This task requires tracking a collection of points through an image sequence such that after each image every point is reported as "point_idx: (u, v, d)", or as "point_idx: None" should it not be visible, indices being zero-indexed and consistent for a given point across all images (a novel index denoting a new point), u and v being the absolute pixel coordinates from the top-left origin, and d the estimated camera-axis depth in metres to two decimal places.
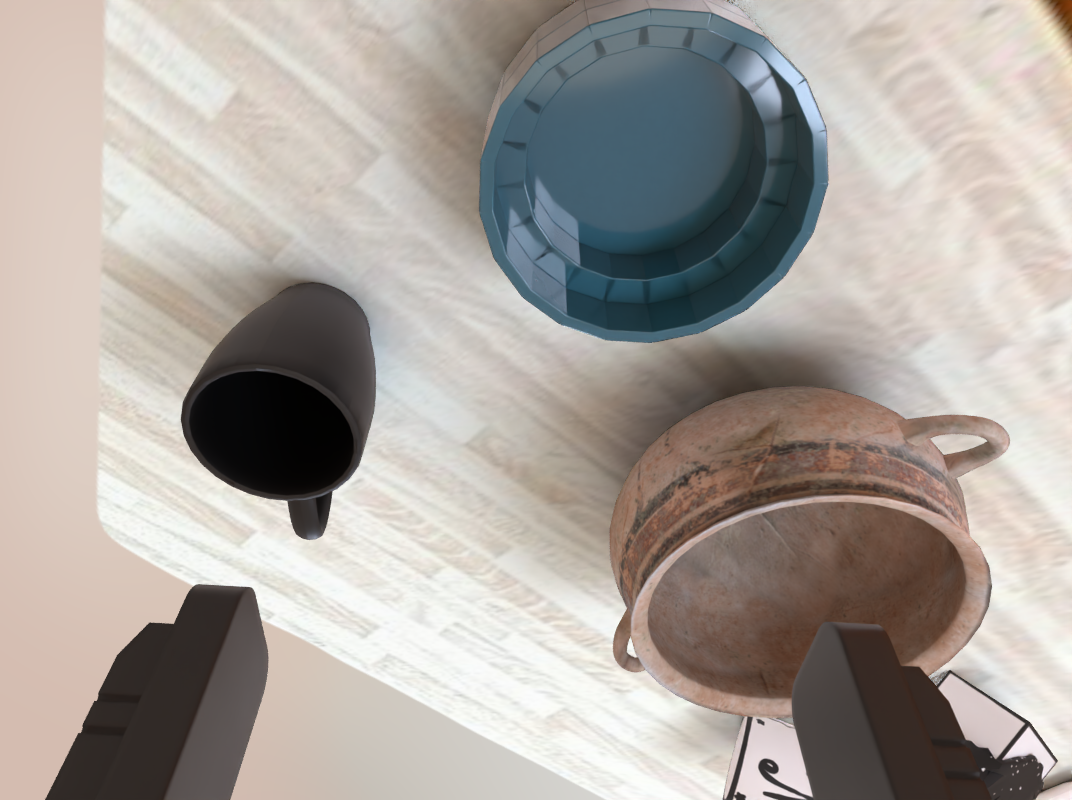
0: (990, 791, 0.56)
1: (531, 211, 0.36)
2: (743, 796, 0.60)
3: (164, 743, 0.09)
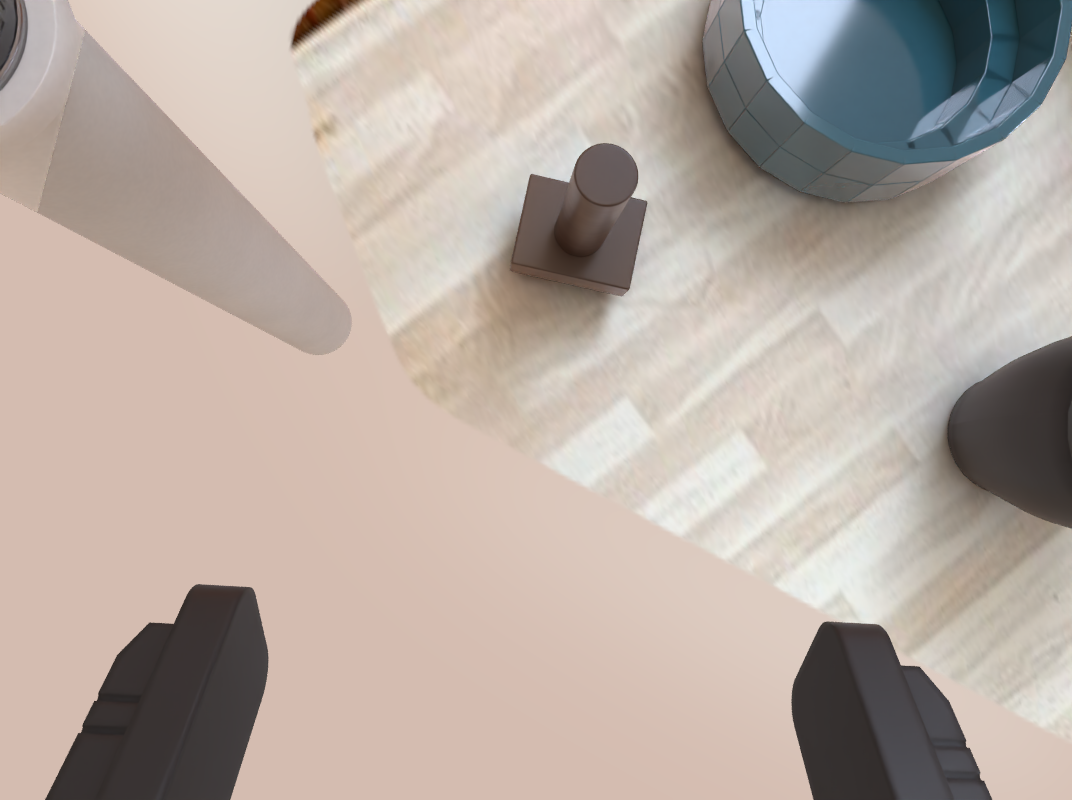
0: None
1: (902, 141, 0.35)
2: None
3: (164, 743, 0.09)
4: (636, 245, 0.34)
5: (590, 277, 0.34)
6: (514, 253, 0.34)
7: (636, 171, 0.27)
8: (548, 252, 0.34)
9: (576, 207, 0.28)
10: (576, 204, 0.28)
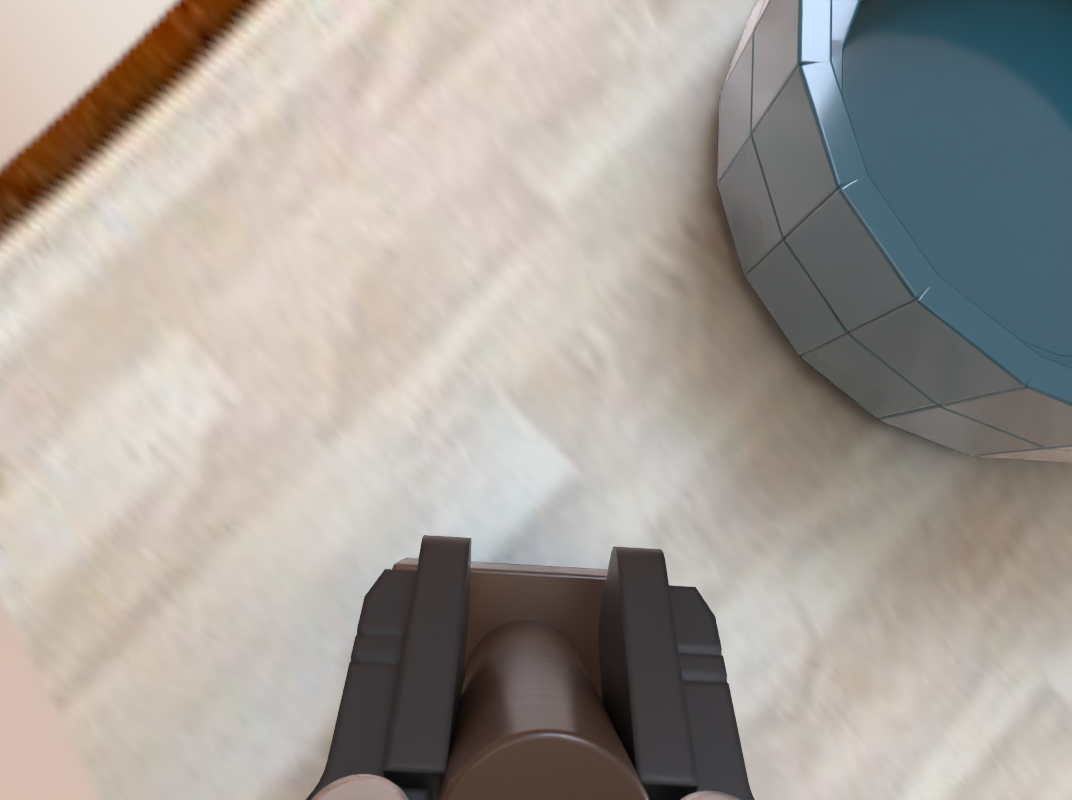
0: None
1: None
2: None
3: (439, 668, 0.10)
4: None
5: None
6: None
7: None
8: None
9: None
10: None
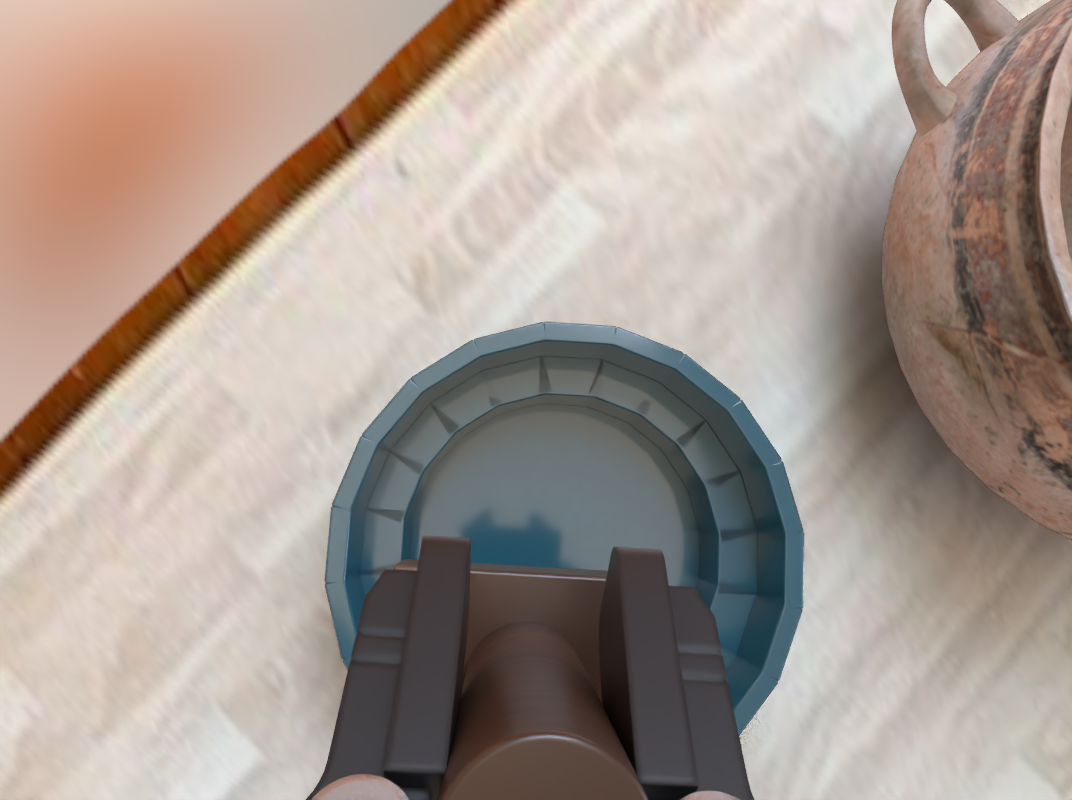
0: None
1: None
2: None
3: (439, 668, 0.10)
4: None
5: None
6: None
7: None
8: None
9: None
10: None
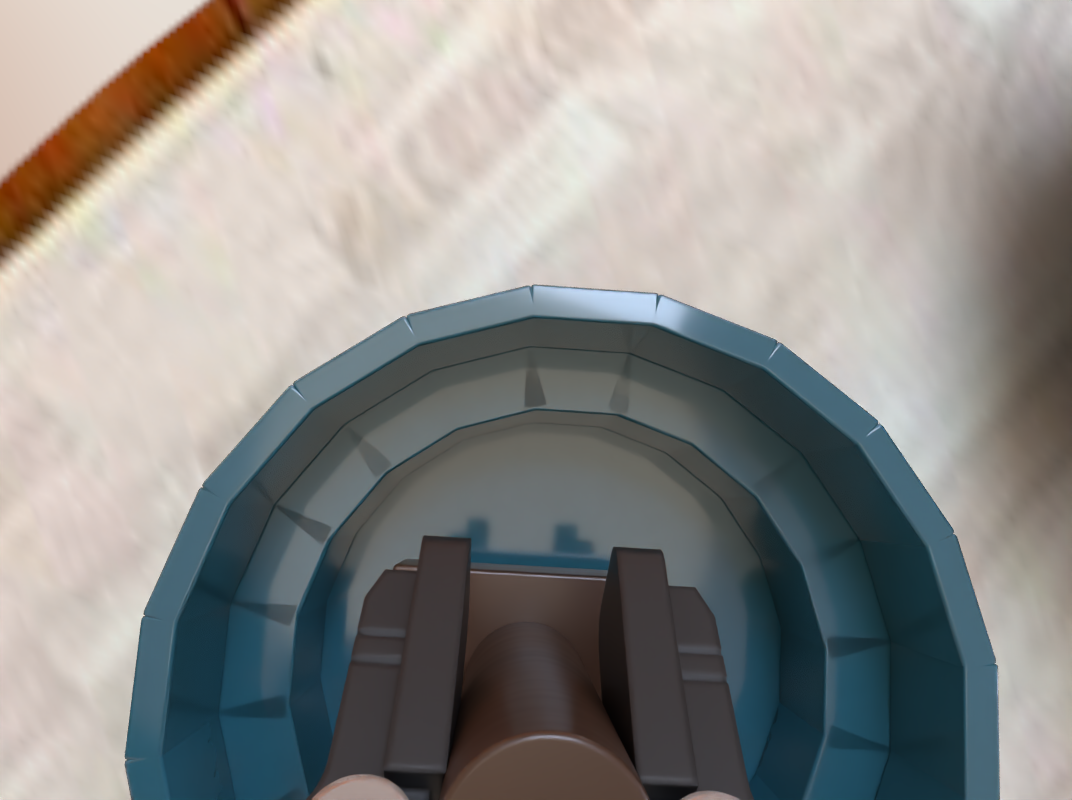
0: None
1: None
2: None
3: (439, 668, 0.10)
4: None
5: None
6: None
7: None
8: None
9: None
10: None
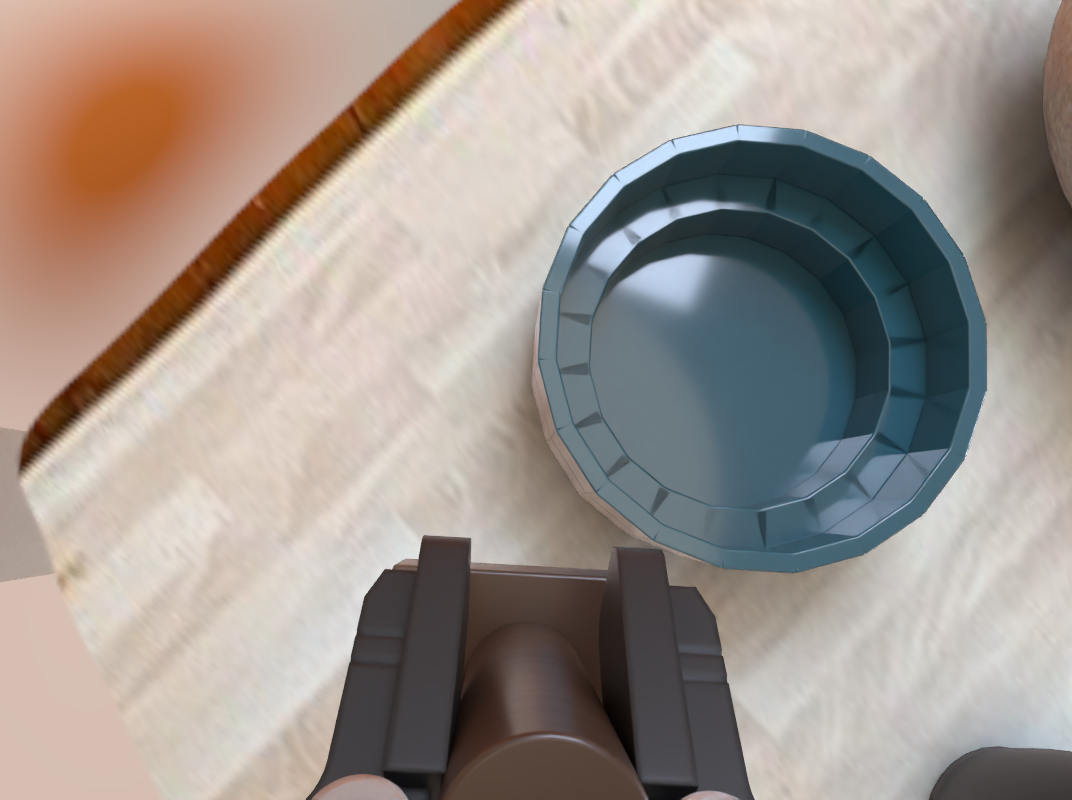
0: None
1: (797, 501, 0.27)
2: None
3: (439, 668, 0.10)
4: None
5: None
6: None
7: None
8: None
9: None
10: None
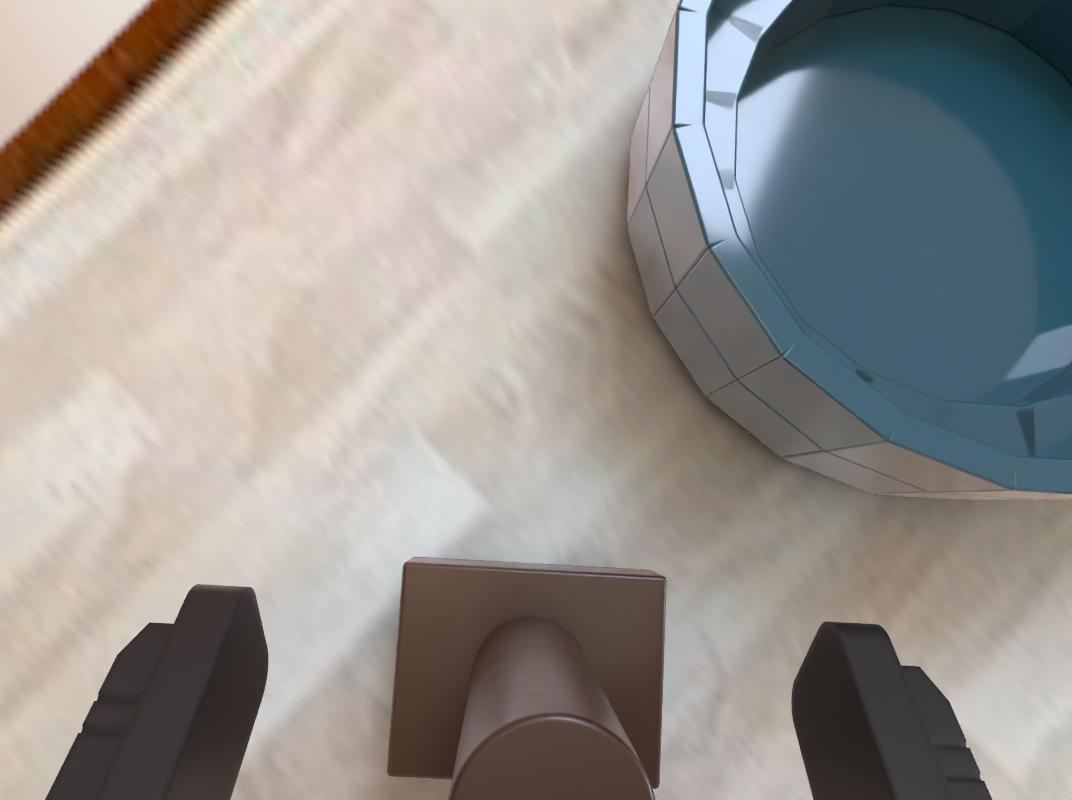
0: None
1: None
2: None
3: (164, 743, 0.09)
4: (658, 682, 0.15)
5: None
6: (391, 753, 0.15)
7: (648, 794, 0.08)
8: None
9: None
10: None
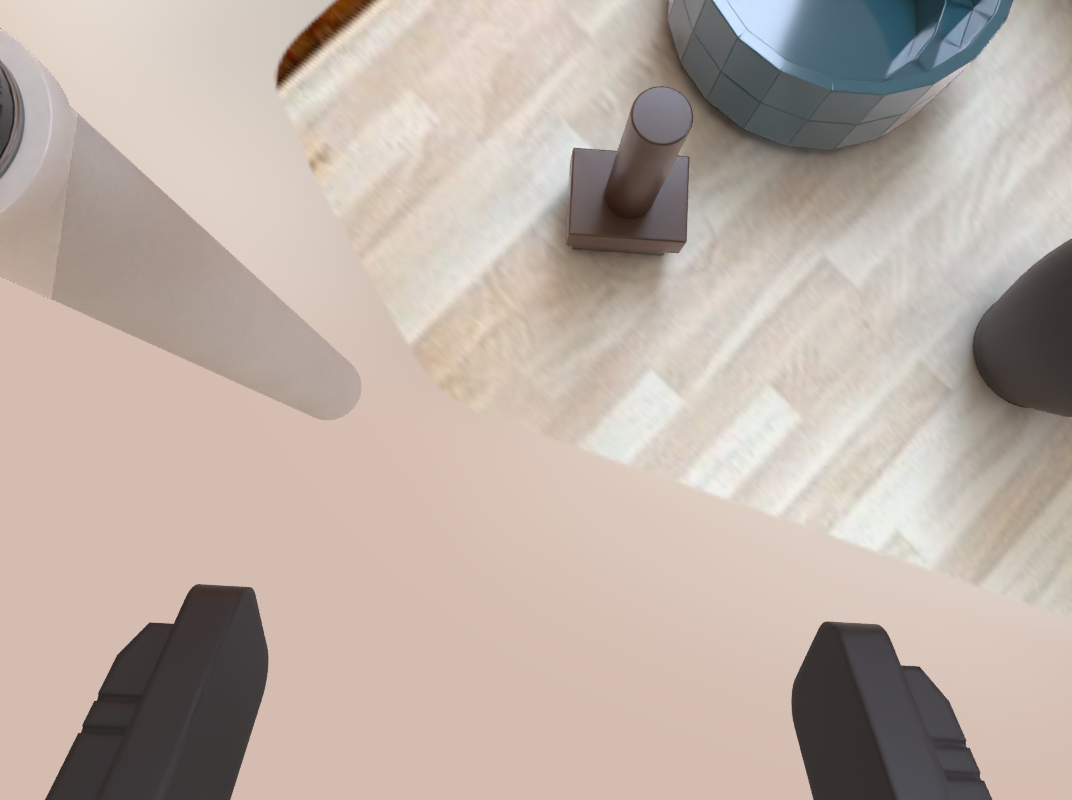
0: None
1: (877, 79, 0.36)
2: None
3: (164, 743, 0.09)
4: (686, 199, 0.35)
5: (646, 236, 0.35)
6: (570, 224, 0.35)
7: (690, 108, 0.28)
8: (602, 218, 0.35)
9: (635, 155, 0.29)
10: (634, 152, 0.29)
